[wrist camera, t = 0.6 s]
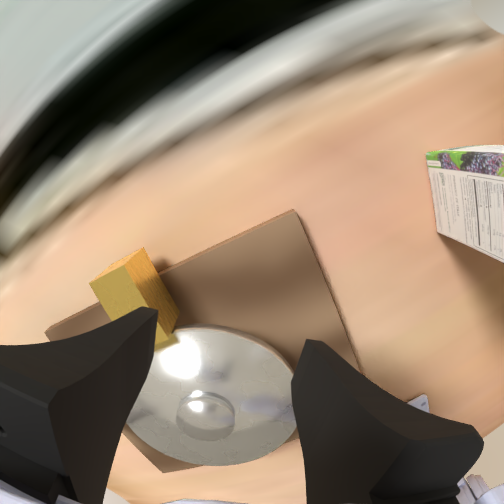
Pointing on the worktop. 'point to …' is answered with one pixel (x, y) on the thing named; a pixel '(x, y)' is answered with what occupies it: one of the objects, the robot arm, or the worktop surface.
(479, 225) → the syrup box
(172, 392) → the small silver pan
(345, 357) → the post board
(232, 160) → the worktop surface
